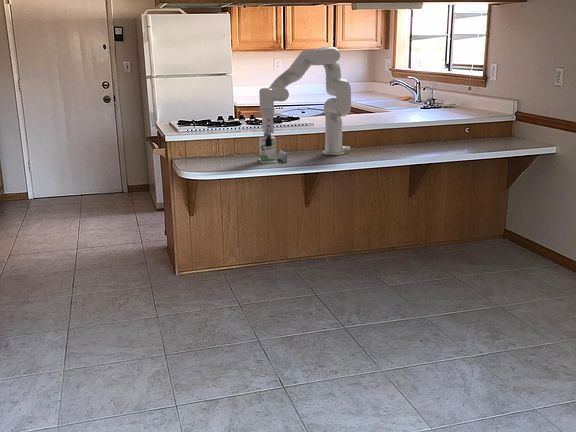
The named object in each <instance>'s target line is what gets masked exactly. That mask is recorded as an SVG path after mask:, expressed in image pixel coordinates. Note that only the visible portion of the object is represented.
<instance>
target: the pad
mask: <svg viewBox="0 0 576 432" xmlns="http://www.w3.org/2000/svg"><path fill="white" fill-rule="evenodd" d="M257 160H258V162H260V164H261V163H264V164H279V161H278V160H277V158H276V159H265V160H261V159H260V157H257Z"/></svg>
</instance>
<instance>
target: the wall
mask: <svg viewBox="0 0 576 432" xmlns="http://www.w3.org/2000/svg"><path fill="white" fill-rule="evenodd" d="M278 159H279V160H280V161H281V160H282V161H283V162H284V163H288V154H287V153H286V152H285V151H284V150H283V149H281V150H280V149H279V150H278ZM282 161H281V162H282ZM283 162H282V163H283Z"/></svg>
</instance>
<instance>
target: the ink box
mask: <svg viewBox="0 0 576 432" xmlns="http://www.w3.org/2000/svg"><path fill="white" fill-rule="evenodd" d="M258 139H259V141H258V143H259V144H258V145H259V146H258V147H259V158H260V159H261V160H265V159H276V160H277V139H276V137H275V136H272V135H271V139H272V146H268V147H266V140H265V139H266V137H264V136H259V137H258Z"/></svg>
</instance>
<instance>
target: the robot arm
mask: <svg viewBox="0 0 576 432" xmlns="http://www.w3.org/2000/svg"><path fill="white" fill-rule="evenodd" d="M340 58H341V52H340V50H339V49H338V48H336V47H333V46H332V47H331V46H330V47H329V46H327V47H326V46H325V47H318V48H305V49H303V50H302V51H301V52H300V53H299V54H298V55H297V57H296V58H295V59H294V60H293V62H292V63H291V64H290V66H288V67H289V68H288V69H286V70H285V71H284V72H282V73H281V74H280V75H279V76H277V77H276V79H274V81H273V82H272V83H271V84H270V86H269V87H263V88H260V89H259V91H258V94H259V95H258V97H259V115H261V129H262V132H263V137H266V139H265V140H266V147H268V146H272V139H271V136H272V134H274V133H275V130H274V117H273V116H274V115H275V107H274V106H275V102H281V103H282V102H286V101H287V100H288V99H289V97H290V92H289V90H288V89H287V87H288V86H289V85H291V84H293V83H295V82H298V81H300V80H301V79H302V78H303V76H304V75H305V74H306V72H307V71H308V69H310V67H311V66H323V68H324V70H325V72H324V73H325V89H326V93H327V94H328V95H329V96H334V97H331V98H328V99H326V100H325V102H324V105H323V112H324V117H325V136H324V137H325V138H324V139H325V142H324V143H325V149H324V150H323V151H322V154H323V155H325V156H326V155H328V156H339V155H344V154H345V151H349V150H351V147H350V146H343V119H342V117H347V116H348V115H349V114H350V112H351V111H352V109H351V108H352V88H351V84H350V82H349V81H348V80H347V79H345V78H342V73H341V71H342V70H341V65H340V63H339V60H340Z"/></svg>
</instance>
